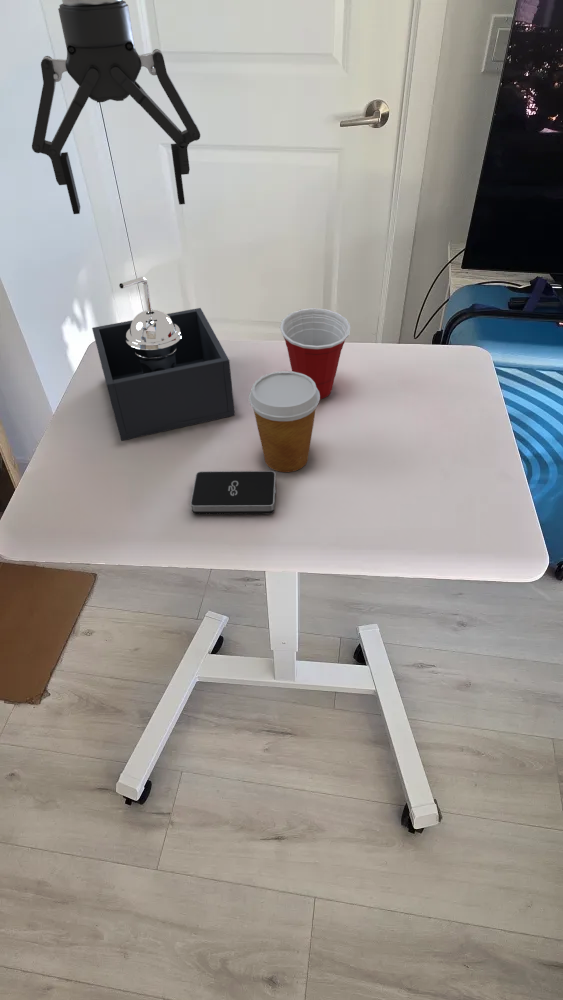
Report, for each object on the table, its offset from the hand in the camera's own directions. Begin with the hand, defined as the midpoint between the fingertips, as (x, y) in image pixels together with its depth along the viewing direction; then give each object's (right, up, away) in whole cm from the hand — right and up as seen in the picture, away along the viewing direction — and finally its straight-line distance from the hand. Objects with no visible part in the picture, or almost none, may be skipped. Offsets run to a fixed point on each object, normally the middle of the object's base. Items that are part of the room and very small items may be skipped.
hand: (129, 206), depth 82 cm
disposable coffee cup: (+21, -33, +9) cm, 40 cm away
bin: (+1, -22, +21) cm, 30 cm away
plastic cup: (+26, -21, +21) cm, 39 cm away
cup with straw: (0, -21, +20) cm, 29 cm away
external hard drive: (+14, -39, +3) cm, 41 cm away
